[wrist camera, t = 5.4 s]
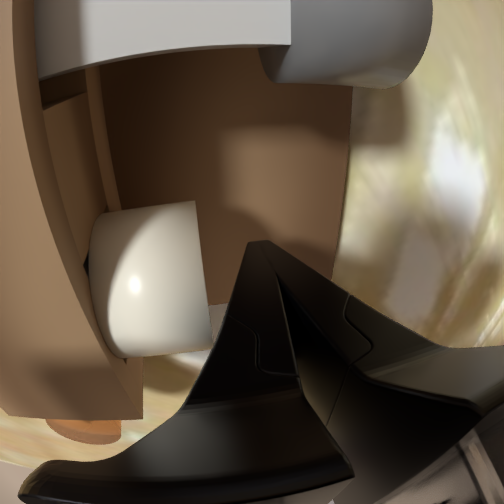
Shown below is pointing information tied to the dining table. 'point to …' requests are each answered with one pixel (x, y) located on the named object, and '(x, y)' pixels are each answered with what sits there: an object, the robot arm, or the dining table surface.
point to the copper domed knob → (88, 430)
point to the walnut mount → (144, 195)
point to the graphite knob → (242, 35)
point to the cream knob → (149, 281)
